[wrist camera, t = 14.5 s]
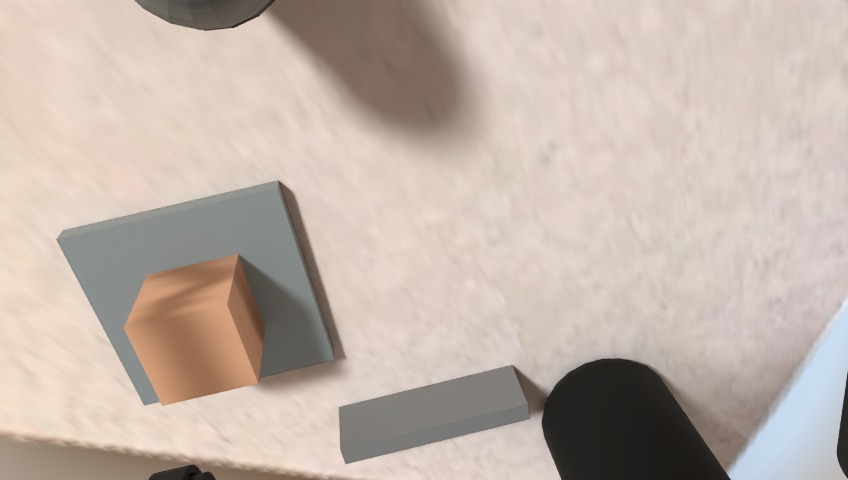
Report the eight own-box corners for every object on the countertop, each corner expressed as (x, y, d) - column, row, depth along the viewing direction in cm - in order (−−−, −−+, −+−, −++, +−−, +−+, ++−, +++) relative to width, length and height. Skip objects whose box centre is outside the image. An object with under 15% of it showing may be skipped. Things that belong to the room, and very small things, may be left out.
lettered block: (238, 253, 44) (227, 304, 38) (266, 330, 47) (259, 386, 41) (147, 274, 43) (123, 328, 38) (181, 349, 46) (163, 408, 41)
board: (278, 180, 43) (277, 187, 42) (333, 349, 50) (333, 359, 49) (62, 230, 42) (56, 239, 41) (148, 394, 49) (144, 405, 48)
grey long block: (512, 365, 53) (527, 403, 49) (517, 400, 54) (533, 440, 50) (338, 407, 52) (340, 449, 48) (350, 441, 54) (352, 484, 50)
